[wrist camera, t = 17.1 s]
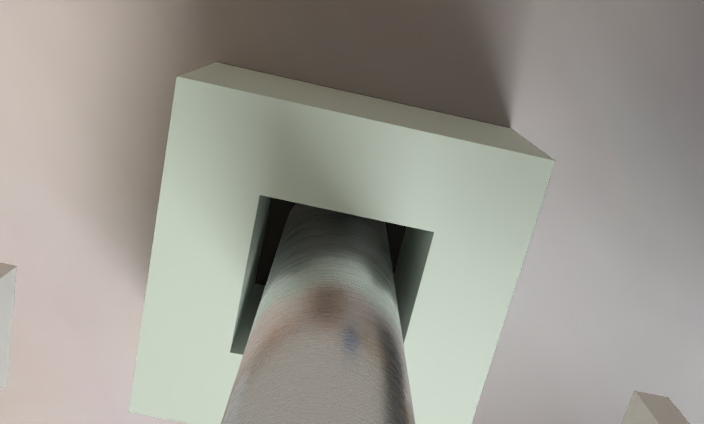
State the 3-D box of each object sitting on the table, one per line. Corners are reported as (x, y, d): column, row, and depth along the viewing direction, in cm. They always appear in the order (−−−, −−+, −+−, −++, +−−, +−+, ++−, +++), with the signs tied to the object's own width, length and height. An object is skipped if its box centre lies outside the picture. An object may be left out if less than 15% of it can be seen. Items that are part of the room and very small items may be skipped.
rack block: (511, 128, 22) (555, 160, 17) (435, 385, 25) (455, 474, 20) (216, 62, 21) (176, 76, 17) (172, 333, 24) (128, 412, 19)
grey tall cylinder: (397, 198, 23) (459, 466, 9) (373, 292, 24) (399, 654, 10) (295, 176, 22) (208, 419, 9) (275, 271, 24) (172, 616, 10)
